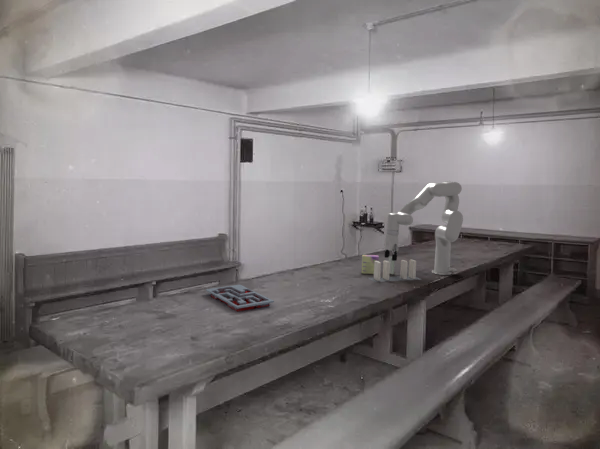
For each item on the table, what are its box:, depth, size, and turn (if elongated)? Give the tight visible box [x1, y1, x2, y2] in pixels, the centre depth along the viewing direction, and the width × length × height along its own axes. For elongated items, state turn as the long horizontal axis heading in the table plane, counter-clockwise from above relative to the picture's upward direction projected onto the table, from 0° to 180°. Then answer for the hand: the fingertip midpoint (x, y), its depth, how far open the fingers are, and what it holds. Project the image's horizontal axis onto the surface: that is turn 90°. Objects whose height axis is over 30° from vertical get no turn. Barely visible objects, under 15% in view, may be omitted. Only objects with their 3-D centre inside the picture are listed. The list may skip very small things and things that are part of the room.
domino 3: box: [387, 256, 396, 275], centre depth 295 cm, size 2×5×11 cm, turn 17°
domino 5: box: [408, 259, 417, 279], centre depth 285 cm, size 2×5×11 cm, turn 17°
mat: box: [367, 275, 422, 283], centre depth 282 cm, size 32×10×1 cm, turn 107°
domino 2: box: [382, 260, 390, 280], centre depth 279 cm, size 2×5×11 cm, turn 17°
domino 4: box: [399, 259, 409, 279], centre depth 283 cm, size 2×5×11 cm, turn 17°
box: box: [360, 254, 380, 275], centre depth 296 cm, size 10×6×12 cm, turn 84°
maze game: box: [205, 284, 275, 312], centre depth 230 cm, size 35×20×3 cm, turn 35°
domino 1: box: [373, 261, 382, 281], centre depth 277 cm, size 2×5×11 cm, turn 17°
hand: (390, 258), depth 295 cm, fingers open, 9 cm apart
